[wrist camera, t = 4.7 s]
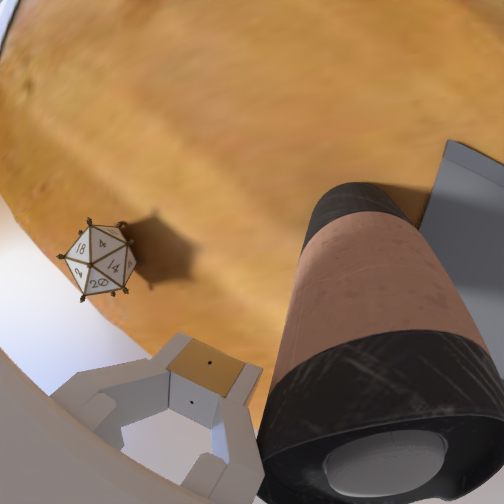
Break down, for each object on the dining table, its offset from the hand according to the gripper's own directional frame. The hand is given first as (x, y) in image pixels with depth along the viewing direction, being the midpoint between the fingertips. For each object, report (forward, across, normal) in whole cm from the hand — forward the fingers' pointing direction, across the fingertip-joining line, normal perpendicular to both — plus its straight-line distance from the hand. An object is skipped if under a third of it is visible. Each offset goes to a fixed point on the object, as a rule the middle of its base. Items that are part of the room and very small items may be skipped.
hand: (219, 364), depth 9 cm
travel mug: (+18, -3, -1) cm, 18 cm away
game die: (+18, +19, +9) cm, 27 cm away
